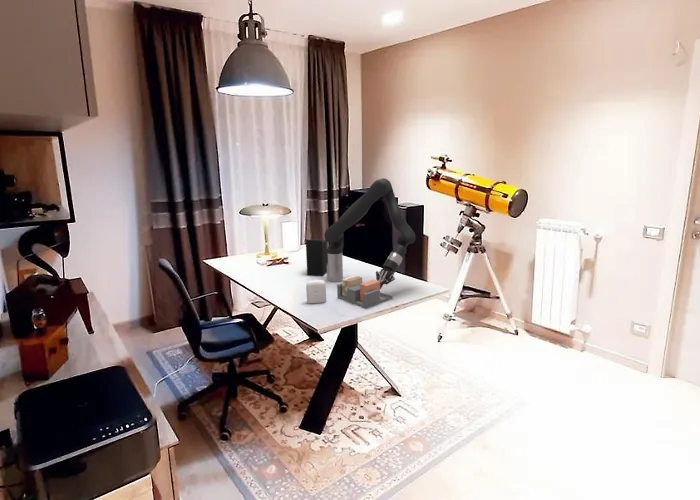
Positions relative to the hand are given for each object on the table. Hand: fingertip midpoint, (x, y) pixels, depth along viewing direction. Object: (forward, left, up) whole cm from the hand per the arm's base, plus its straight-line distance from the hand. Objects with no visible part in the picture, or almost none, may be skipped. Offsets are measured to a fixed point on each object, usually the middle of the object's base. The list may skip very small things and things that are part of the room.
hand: (377, 289), depth 227 cm
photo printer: (-20, -26, -6) cm, 33 cm away
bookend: (-63, +11, -6) cm, 65 cm away
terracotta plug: (0, -6, -4) cm, 7 cm away
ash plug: (-12, -7, -4) cm, 14 cm away
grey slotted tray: (-6, -4, -6) cm, 9 cm away
